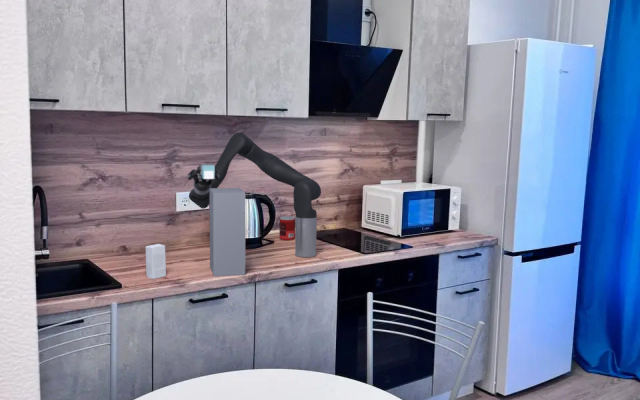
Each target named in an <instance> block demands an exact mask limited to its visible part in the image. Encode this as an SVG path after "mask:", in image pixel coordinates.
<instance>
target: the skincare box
mask: <svg viewBox="0 0 640 400" xmlns="http://www.w3.org/2000/svg"><path fill="white" fill-rule="evenodd" d="M166 263H167V261H166V245H165V244H162V243H156V244H151V245H147V246H145V267H146V268H145V270H146V272H145V273H146V278H147V277H148V279H151V280H156V279H159V278H163V277H166V276H167V274H166V273H167V270H166V269H167V267H166Z"/></svg>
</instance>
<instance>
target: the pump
mask: <svg viewBox="0 0 640 400" xmlns="http://www.w3.org/2000/svg"><path fill="white" fill-rule="evenodd" d="M200 166H201V173H200V174H201V175H202V178H203V179H215V165H214V164H201V165H200Z"/></svg>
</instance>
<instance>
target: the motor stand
mask: <svg viewBox="0 0 640 400" xmlns="http://www.w3.org/2000/svg"><path fill="white" fill-rule="evenodd" d="M209 269H210V271H211V273H213V274H212V277H214V276H215V277H230V276H231V277H232V276H245V275H246V192H245V191H244V190H243V189H242V188H241V187H220V188H219V187H218V188H210V204H209Z"/></svg>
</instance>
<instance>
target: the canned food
mask: <svg viewBox="0 0 640 400" xmlns="http://www.w3.org/2000/svg"><path fill="white" fill-rule="evenodd" d="M295 230H296V216H292V215H291V216H289V215H283V216H280V217H279V234H278V235H279V240H281V241H288V242H289V241H293V240H295Z"/></svg>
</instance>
